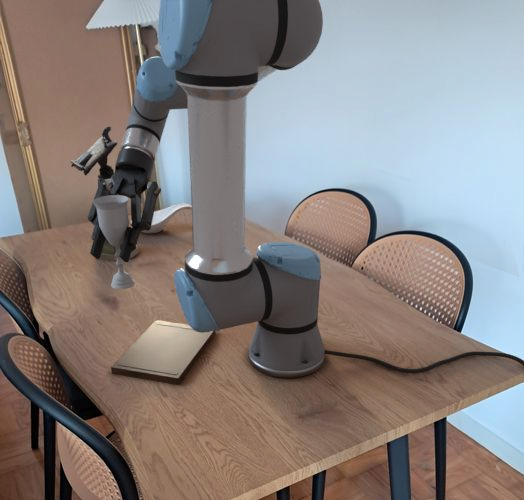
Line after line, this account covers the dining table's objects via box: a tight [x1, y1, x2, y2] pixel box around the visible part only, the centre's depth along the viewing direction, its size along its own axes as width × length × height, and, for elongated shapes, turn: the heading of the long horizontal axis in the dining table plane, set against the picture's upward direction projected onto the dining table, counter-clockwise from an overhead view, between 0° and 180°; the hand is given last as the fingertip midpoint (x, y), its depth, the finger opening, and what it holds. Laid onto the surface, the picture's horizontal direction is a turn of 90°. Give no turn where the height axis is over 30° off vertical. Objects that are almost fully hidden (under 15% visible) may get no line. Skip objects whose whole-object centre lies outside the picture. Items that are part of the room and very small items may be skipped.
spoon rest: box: [140, 203, 192, 234], centre depth 178 cm, size 24×12×7 cm, turn 113°
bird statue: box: [69, 126, 140, 262], centre depth 150 cm, size 17×13×35 cm
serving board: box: [110, 319, 217, 386], centre depth 113 cm, size 14×20×2 cm
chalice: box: [92, 195, 136, 290], centre depth 113 cm, size 7×7×18 cm
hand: (109, 257), depth 111 cm, fingers closed on chalice, 6 cm apart
